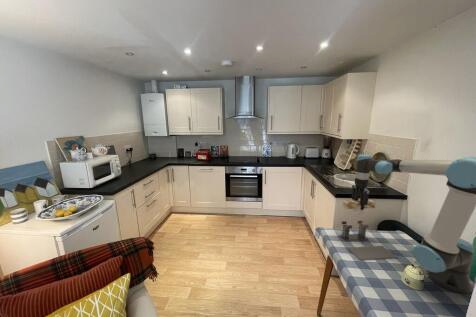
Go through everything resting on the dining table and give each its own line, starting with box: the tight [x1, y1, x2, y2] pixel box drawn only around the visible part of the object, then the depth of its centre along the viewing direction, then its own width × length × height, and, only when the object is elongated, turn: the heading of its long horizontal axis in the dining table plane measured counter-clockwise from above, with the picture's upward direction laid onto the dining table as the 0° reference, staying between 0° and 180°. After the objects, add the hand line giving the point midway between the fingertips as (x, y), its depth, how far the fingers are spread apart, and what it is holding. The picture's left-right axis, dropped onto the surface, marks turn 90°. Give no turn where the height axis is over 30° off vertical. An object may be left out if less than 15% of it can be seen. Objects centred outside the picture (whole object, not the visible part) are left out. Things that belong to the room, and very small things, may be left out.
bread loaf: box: [341, 199, 376, 210], centre depth 129 cm, size 20×4×4 cm, turn 96°
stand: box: [338, 220, 370, 242], centre depth 133 cm, size 17×6×11 cm, turn 96°
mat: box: [346, 245, 399, 261], centre depth 118 cm, size 24×11×1 cm, turn 96°
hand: (357, 212), depth 129 cm, fingers closed on bread loaf, 4 cm apart
